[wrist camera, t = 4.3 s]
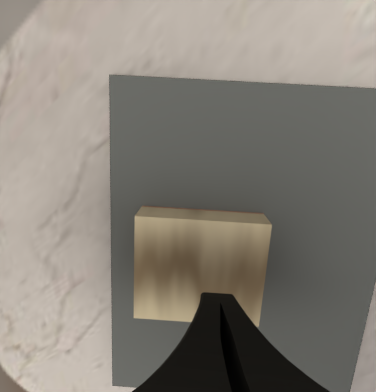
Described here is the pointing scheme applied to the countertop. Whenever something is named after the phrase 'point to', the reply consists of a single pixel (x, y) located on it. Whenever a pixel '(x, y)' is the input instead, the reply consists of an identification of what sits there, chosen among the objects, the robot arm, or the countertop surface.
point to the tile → (198, 260)
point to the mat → (252, 207)
